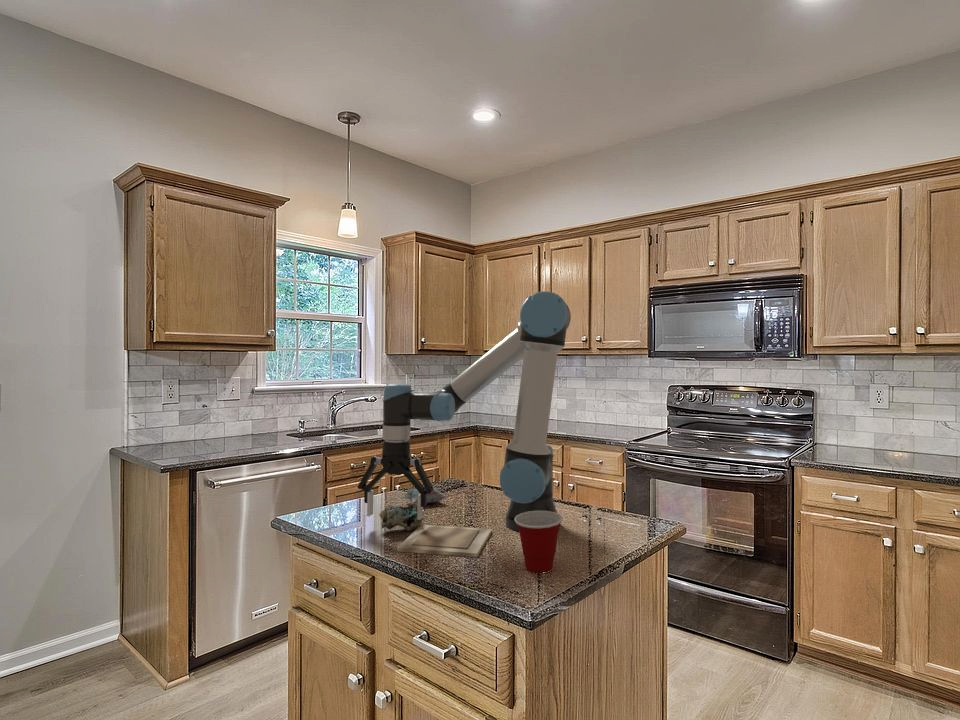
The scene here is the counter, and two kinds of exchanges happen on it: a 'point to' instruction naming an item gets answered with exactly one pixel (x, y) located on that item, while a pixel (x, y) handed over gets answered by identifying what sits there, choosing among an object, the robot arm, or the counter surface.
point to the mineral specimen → (401, 517)
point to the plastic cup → (538, 538)
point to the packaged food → (431, 497)
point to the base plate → (446, 540)
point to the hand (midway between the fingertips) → (394, 518)
